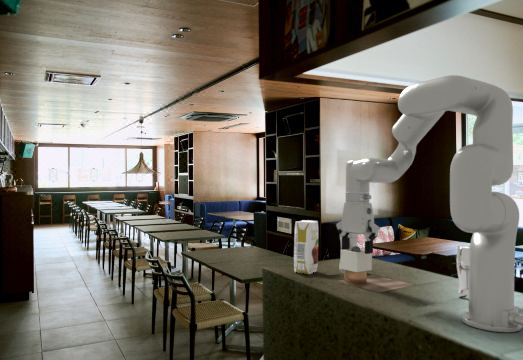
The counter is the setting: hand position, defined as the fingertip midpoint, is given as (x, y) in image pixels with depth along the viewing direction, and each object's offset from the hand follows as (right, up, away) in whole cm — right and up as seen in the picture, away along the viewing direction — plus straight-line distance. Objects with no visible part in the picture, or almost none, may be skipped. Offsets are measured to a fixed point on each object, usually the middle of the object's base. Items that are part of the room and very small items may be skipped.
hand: (356, 251), depth 139 cm
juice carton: (-14, -11, +22) cm, 28 cm away
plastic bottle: (+1, -12, +19) cm, 23 cm away
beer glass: (+31, -12, -11) cm, 35 cm away
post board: (+6, -11, -1) cm, 13 cm away
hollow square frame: (0, -6, 0) cm, 6 cm away
